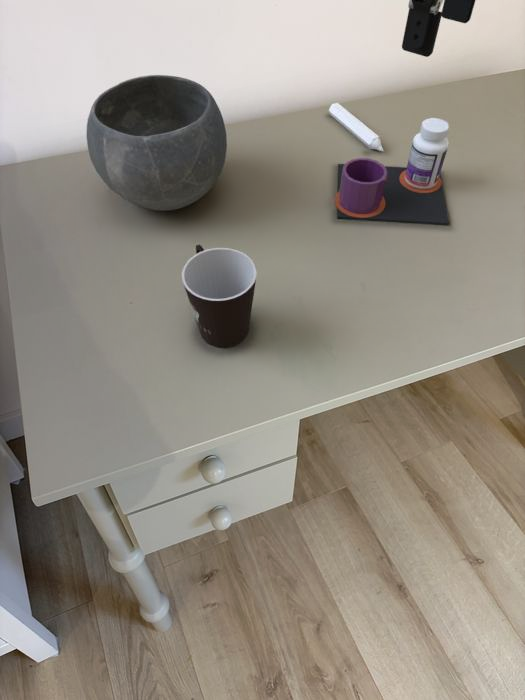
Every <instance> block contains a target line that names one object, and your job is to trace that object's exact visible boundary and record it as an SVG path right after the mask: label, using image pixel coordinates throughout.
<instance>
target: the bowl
mask: <svg viewBox="0 0 525 700" xmlns="http://www.w3.org/2000/svg"><path fill="white" fill-rule="evenodd" d="M227 137H228V136H227V130H226V124H225V120H224V117H223V115H222V112H221V110H220V107H219V105H218V104H217V101H216V100H215V98H214V96H213V95H212V93H211V92H210V91H209V90H207V88H205V86H204V85H201V84H200V83H199V82H196V81H193V80H191V79H188V78H186V77H181V76H176V75H175V76H174V75H167V74H166V75H165V74H164V75H163V74H150V75H142V76H141V75H140V76H137V77H132V78H129V79H126V80H123V81H121V82H119V83H118V84H115V85H113V86H112V87H110V88H108V89H107V90H105V91H103V92H102V93H101V94H100V95H98V97H97V98H95V100H94V102H93V103H92V106H91V108H90V111H89V114H88V116H87V122H86V143H87V149H88V155H89V157H90V160H91V163H92V165H93V167H94V169H95V172H96V174H98V176H99V177H100V179H101V180H102V181H103V182H104V184H105V185H106V186H107V187H108V188H109V189H110V190H111V191H112V192H114V193H115V194H117V195H118V197H119V196H120V197H121V198H122V199H124V200H125V201H127V202H129V203H131V204H133V205H135V206H138V207H140V208H143V209H148V210H152V211H174V210H178V209H182V208H185V207H187V206H190V205H192V204H193V203H195V202H197V201H198V200H200V199H201V198H203V197H204V195H206V194H207V193H208V192H209V191H211V189H212V188H213V187H214V185H215V184H216V183H217V181H218V179H219V177H220V176H221V173H222V172H223V169H224V166H225V162H226V155H227V150H228V148H227V147H228V141H227Z"/></svg>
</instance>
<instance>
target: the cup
mask: <svg viewBox="0 0 525 700" xmlns="http://www.w3.org/2000/svg"><path fill="white" fill-rule="evenodd" d="M344 164H345V165H344V166H343V170H342V178H341V185H340V192H339V203H340V205H341V206H342V207H343V208H344V209H345V210H347V211H349V212H351V213H355V214H368V213H372V212H374V211H376V210H377V209H378V208H379V207H380V204H381V201H382V197H383V192H384V187H385V183H386V178H387V169H386V168H385V166H386V165H384V164H383V163H381V162H380V161H378V160H375V159H372V158H369V157H368V158H366V157H359V158H353V159H350V160H349V161H346V162H345V163H344Z"/></svg>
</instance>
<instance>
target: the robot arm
mask: <svg viewBox="0 0 525 700" xmlns="http://www.w3.org/2000/svg"><path fill="white" fill-rule="evenodd" d="M475 4H476V0H408V6H407V7H408V12H407V18H406V23H405V27H404V28H405V29H404V32H403V38H402V43H401V49H402V50H403V51H405V52H408V53H411V54H416V55H419V56H422V57H425V58H429V57H430V56H431V55H433V53H434V49H435V45H436V40H437V37H438V32H439V29H440V25H441V20H442V18H443V19H446V20H450V21H454V22H458V23H461V24H467V23H468V22H470V21H471V18H472V14H473V11H474V8H475ZM442 5H443V6H442ZM441 6H442V9H441ZM440 9H441V11H440Z"/></svg>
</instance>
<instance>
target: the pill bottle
mask: <svg viewBox="0 0 525 700" xmlns="http://www.w3.org/2000/svg"><path fill="white" fill-rule="evenodd" d="M449 129H450V124H449V123H448V121H446V120H445V119H442V118H437V117H430V118H426V119H424V120H423V121H422V122H421V126H420V131H419V132H418V133H417V134H416V135H414V137H413V140H412V144H411V148H410V153H409V156H408V161H407V164H406V168H407V169H406V173H405V181H406V182H407V183H408V184H409V185H410V186H412V187H414V188H417V189H429V188H432V187H434V186H435V185H436V184H437V182H438V179H439V176H440V175H441V172H442V169H443V165H444V161H445V158H446V155H447V152H448V148H449V146H450V145H449V139H448V137H447V136H448V133H449Z"/></svg>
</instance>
